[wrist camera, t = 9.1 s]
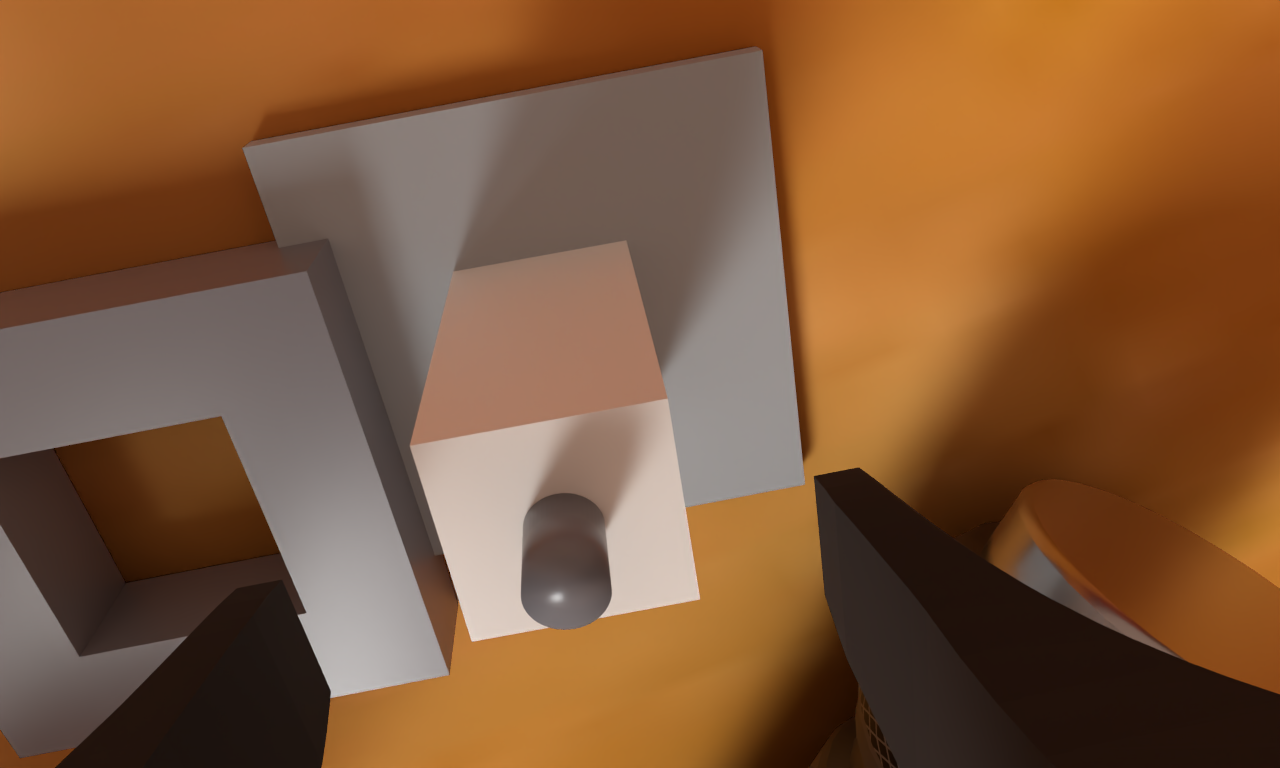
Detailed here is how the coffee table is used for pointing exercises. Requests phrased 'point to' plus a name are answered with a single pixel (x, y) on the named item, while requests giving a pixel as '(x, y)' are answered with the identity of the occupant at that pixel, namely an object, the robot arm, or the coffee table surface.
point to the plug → (552, 447)
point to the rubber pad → (572, 239)
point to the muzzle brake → (1114, 592)
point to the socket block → (268, 449)
